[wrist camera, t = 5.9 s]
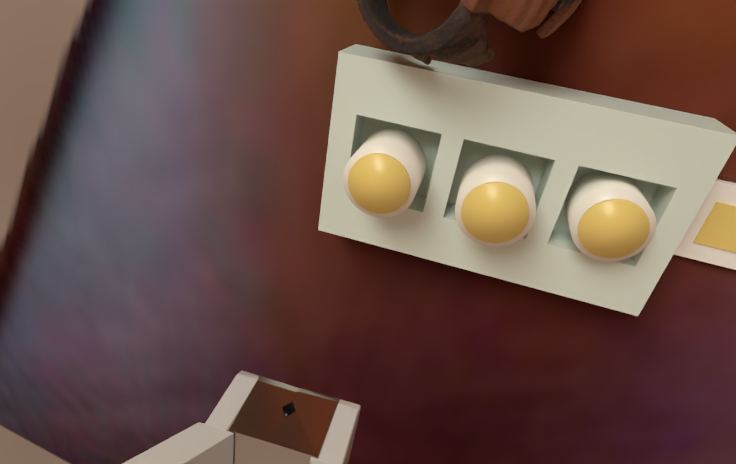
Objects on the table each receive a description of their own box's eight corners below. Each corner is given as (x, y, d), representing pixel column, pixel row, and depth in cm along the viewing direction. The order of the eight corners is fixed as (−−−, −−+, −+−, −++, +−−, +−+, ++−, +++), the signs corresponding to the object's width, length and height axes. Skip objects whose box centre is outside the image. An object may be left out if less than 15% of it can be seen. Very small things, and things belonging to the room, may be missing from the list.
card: (849, 208, 23) (855, 213, 23) (794, 281, 25) (799, 286, 25) (655, 165, 24) (657, 168, 24) (619, 237, 27) (621, 242, 26)
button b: (543, 163, 23) (548, 187, 20) (520, 226, 25) (521, 257, 22) (470, 146, 24) (465, 168, 21) (452, 209, 25) (446, 237, 23)
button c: (433, 137, 24) (423, 158, 21) (418, 200, 26) (407, 227, 23) (364, 121, 24) (347, 139, 22) (355, 184, 26) (337, 208, 24)
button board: (714, 118, 23) (740, 136, 20) (626, 285, 28) (638, 316, 25) (355, 44, 25) (338, 51, 23) (334, 208, 30) (318, 229, 28)
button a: (653, 179, 24) (672, 205, 21) (622, 240, 25) (636, 272, 23) (579, 162, 24) (588, 185, 21) (554, 223, 26) (560, 252, 23)
